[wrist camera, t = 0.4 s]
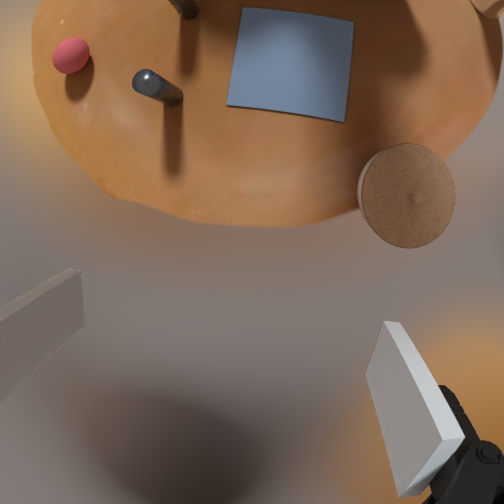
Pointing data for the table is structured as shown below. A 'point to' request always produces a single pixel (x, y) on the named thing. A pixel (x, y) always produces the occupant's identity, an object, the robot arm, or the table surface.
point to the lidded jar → (406, 195)
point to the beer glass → (489, 8)
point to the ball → (71, 55)
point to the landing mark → (292, 63)
